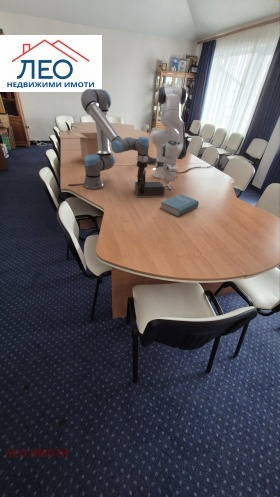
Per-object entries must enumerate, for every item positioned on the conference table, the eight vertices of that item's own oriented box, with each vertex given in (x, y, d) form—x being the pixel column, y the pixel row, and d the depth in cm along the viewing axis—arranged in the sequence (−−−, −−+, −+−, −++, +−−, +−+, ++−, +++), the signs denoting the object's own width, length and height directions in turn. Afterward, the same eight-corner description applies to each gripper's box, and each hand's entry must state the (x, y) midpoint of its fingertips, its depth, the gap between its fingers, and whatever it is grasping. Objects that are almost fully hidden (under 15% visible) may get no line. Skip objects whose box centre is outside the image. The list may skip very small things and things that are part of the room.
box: (116, 165, 229) (116, 136, 213) (83, 168, 214) (80, 137, 198) (102, 154, 259) (101, 128, 243) (71, 156, 244) (68, 129, 228)
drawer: (167, 190, 181) (168, 182, 177) (171, 194, 173) (172, 187, 170) (138, 190, 176) (138, 183, 172) (141, 195, 168) (141, 188, 165)
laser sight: (157, 165, 238) (158, 155, 232) (137, 163, 241) (138, 153, 235) (159, 163, 245) (160, 153, 239) (139, 160, 248) (139, 151, 242)
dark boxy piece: (158, 191, 181) (159, 181, 176) (162, 196, 172) (163, 186, 167) (134, 191, 176) (135, 181, 172) (137, 197, 168) (138, 187, 163)
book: (179, 200, 168) (180, 193, 165) (197, 207, 159) (199, 201, 156) (160, 208, 154) (160, 201, 152) (178, 217, 146) (179, 210, 143)
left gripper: (134, 156, 166) (132, 184, 179) (140, 165, 148) (138, 196, 161) (143, 156, 168) (141, 184, 181) (151, 165, 149) (148, 196, 162)
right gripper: (161, 161, 171) (159, 179, 179) (169, 169, 155) (167, 188, 163) (169, 161, 173) (166, 179, 181) (178, 169, 156) (175, 188, 164)
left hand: (140, 190), depth 171 cm, fingers closed on dark boxy piece, 11 cm apart
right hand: (167, 183), depth 172 cm, fingers closed
